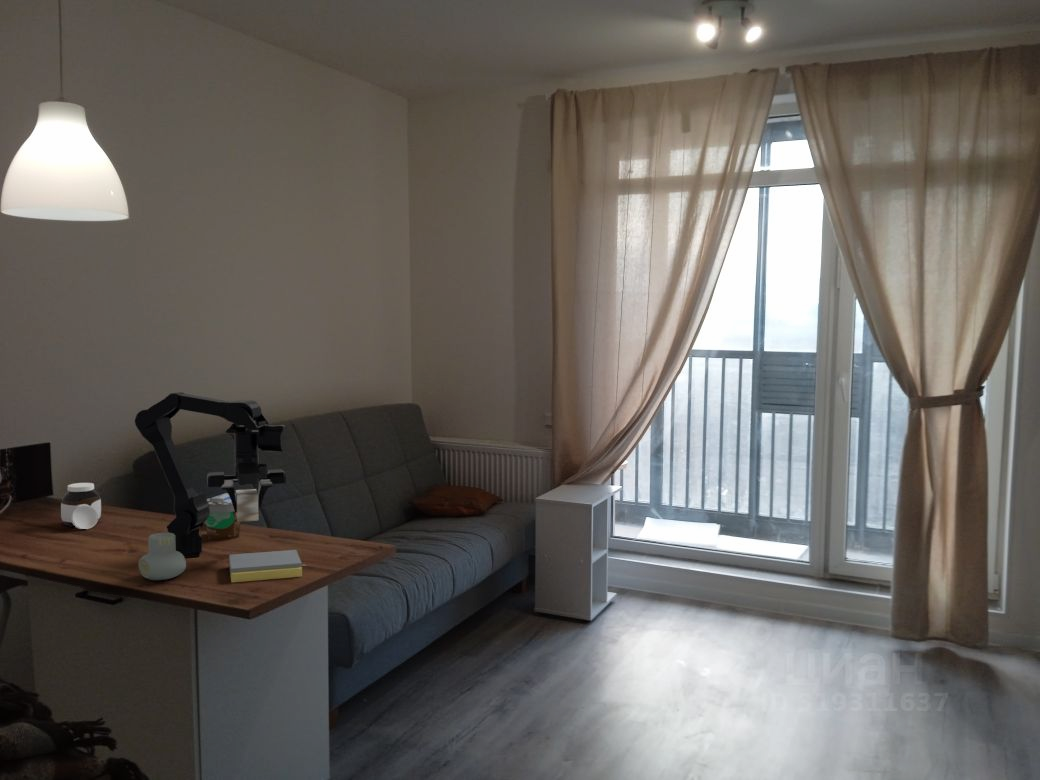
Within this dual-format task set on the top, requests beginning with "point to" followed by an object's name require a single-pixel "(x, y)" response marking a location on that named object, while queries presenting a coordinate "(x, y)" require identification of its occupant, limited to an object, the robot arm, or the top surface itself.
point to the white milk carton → (247, 505)
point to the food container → (222, 521)
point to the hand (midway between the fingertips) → (247, 511)
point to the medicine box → (222, 498)
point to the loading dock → (264, 565)
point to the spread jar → (81, 506)
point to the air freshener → (162, 558)
